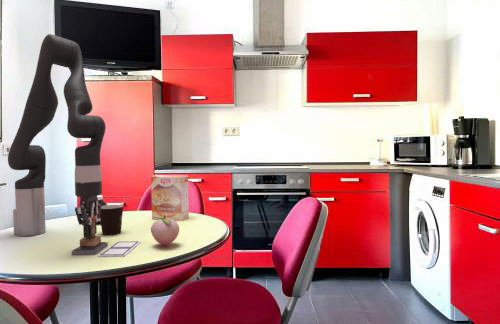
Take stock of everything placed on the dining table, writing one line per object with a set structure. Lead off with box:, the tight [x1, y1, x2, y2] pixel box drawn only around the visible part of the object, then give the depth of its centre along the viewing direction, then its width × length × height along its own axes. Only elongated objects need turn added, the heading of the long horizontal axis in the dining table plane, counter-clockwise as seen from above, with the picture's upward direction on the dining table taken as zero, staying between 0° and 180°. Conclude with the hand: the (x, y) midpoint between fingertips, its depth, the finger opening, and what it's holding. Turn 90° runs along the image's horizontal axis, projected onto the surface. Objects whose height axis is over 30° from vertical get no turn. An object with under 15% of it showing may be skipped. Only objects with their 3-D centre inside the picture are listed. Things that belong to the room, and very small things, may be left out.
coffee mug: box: [100, 204, 124, 236], centre depth 129 cm, size 12×9×10 cm
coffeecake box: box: [150, 174, 190, 222], centre depth 153 cm, size 15×7×20 cm, turn 73°
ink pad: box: [71, 241, 109, 256], centre depth 106 cm, size 7×9×2 cm
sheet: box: [97, 240, 142, 258], centre depth 107 cm, size 8×15×1 cm, turn 1°
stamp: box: [79, 215, 102, 248], centre depth 106 cm, size 4×4×9 cm
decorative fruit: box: [150, 215, 180, 247], centre depth 110 cm, size 9×8×10 cm
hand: (90, 235), depth 106 cm, fingers closed on stamp, 2 cm apart
